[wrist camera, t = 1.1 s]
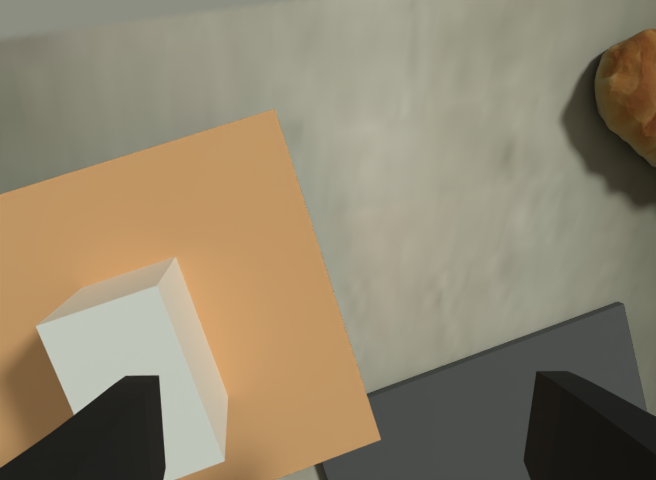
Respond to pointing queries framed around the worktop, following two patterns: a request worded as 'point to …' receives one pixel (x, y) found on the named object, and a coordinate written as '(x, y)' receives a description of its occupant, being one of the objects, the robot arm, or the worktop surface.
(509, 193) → the worktop surface
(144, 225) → the lid
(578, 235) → the worktop surface
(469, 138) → the worktop surface
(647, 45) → the pastry
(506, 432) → the mat
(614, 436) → the robot arm
